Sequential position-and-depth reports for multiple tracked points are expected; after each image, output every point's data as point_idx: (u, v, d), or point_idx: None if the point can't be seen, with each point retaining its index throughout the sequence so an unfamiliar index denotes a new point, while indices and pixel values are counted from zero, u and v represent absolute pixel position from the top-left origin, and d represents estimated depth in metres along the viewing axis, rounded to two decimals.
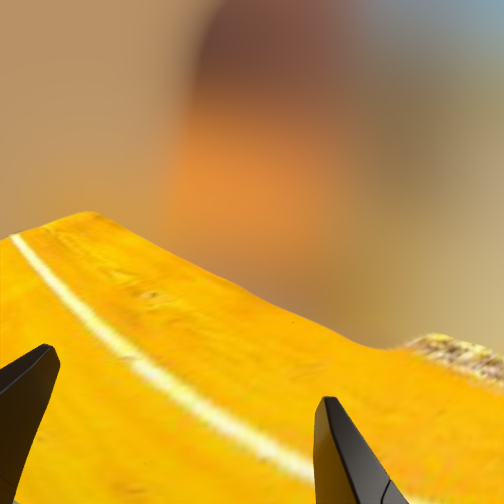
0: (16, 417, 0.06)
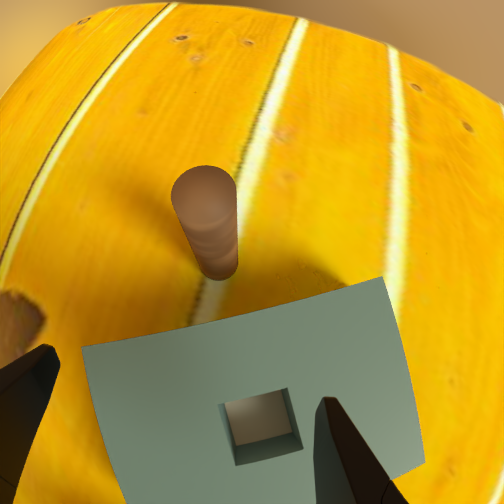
0: (16, 418, 0.06)
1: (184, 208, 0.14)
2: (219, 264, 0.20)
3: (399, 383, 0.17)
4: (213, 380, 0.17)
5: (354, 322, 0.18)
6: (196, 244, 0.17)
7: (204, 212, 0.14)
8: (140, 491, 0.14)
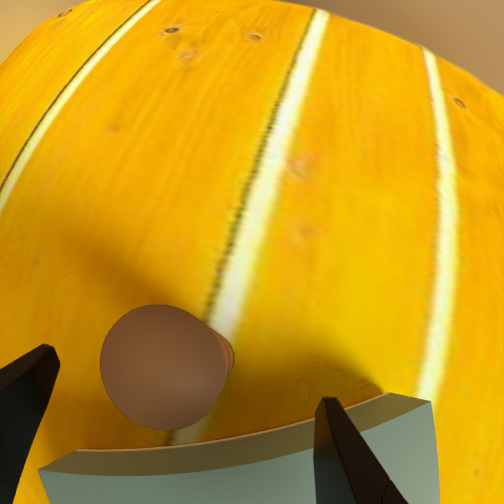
0: (16, 417, 0.06)
1: (126, 398, 0.06)
2: None
3: None
4: None
5: (386, 465, 0.11)
6: None
7: (162, 410, 0.06)
8: None
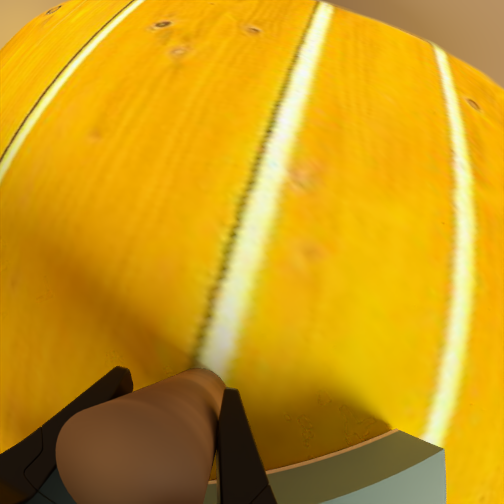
0: None
1: (91, 502, 0.04)
2: None
3: None
4: None
5: None
6: None
7: None
8: None
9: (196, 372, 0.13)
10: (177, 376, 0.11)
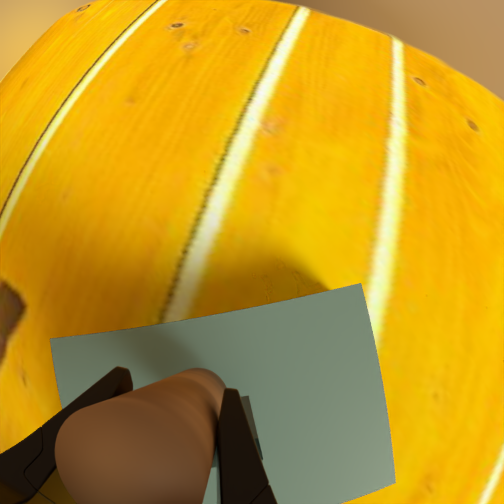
0: None
1: (90, 501, 0.04)
2: None
3: (371, 399, 0.16)
4: None
5: (325, 332, 0.17)
6: None
7: None
8: None
9: (196, 371, 0.13)
10: (177, 375, 0.11)
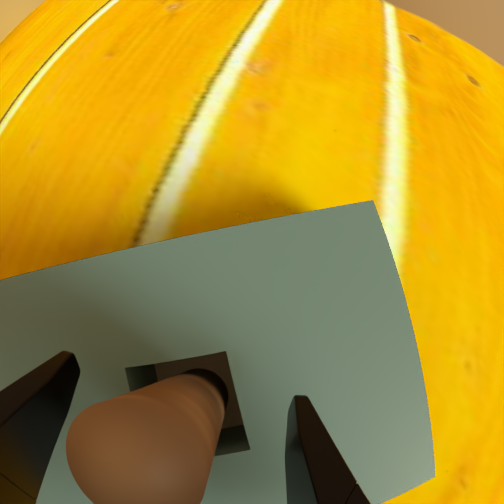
0: (36, 428, 0.06)
1: (99, 493, 0.04)
2: None
3: (401, 357, 0.12)
4: (121, 331, 0.12)
5: (331, 260, 0.13)
6: None
7: None
8: None
9: (197, 372, 0.13)
10: (179, 375, 0.11)
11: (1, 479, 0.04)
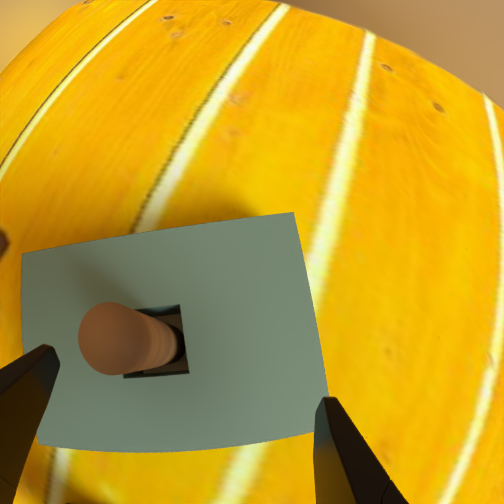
0: (16, 417, 0.06)
1: (90, 354, 0.11)
2: None
3: (301, 323, 0.18)
4: (115, 288, 0.18)
5: (255, 251, 0.19)
6: None
7: (109, 363, 0.11)
8: None
9: None
10: None
11: None
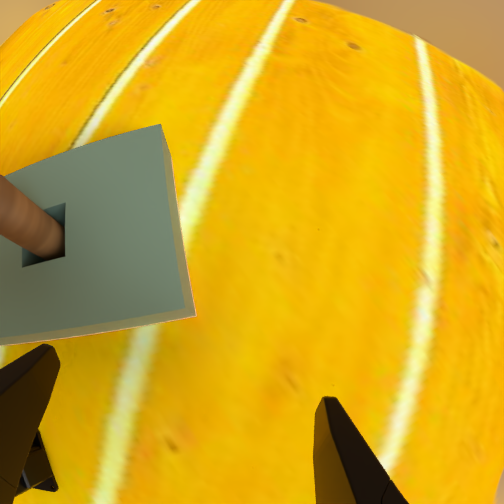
0: (16, 417, 0.06)
1: None
2: (43, 255, 0.19)
3: (155, 207, 0.20)
4: None
5: (125, 155, 0.21)
6: None
7: None
8: None
9: None
10: None
11: None
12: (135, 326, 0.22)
